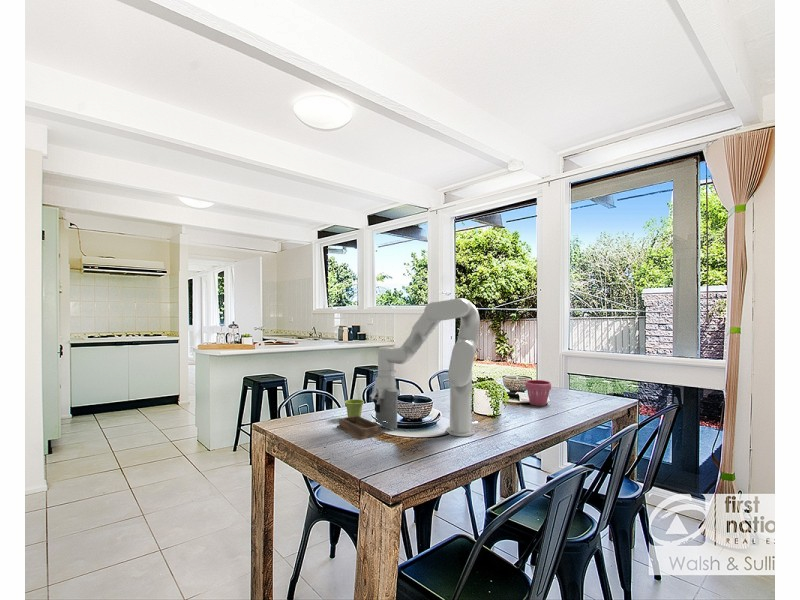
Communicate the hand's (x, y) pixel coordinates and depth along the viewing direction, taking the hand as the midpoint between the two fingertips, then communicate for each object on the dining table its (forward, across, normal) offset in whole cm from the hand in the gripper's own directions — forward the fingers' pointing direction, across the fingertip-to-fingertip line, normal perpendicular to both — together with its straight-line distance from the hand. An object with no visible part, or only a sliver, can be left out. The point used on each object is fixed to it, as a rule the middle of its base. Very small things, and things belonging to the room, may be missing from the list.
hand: (385, 410), depth 199 cm
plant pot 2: (+7, -97, +15) cm, 98 cm away
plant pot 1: (+7, +6, -18) cm, 20 cm away
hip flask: (+7, 0, 0) cm, 7 cm away
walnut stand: (+7, +14, 0) cm, 16 cm away
